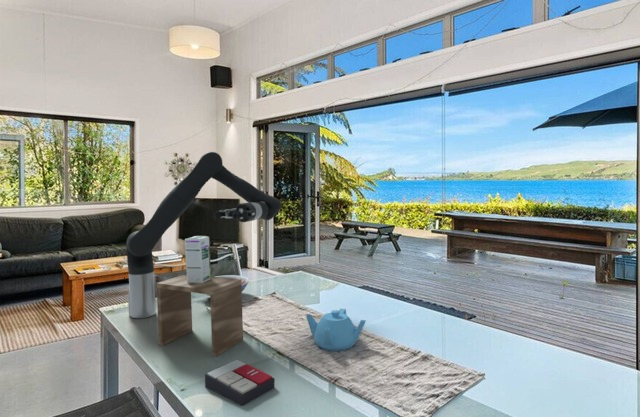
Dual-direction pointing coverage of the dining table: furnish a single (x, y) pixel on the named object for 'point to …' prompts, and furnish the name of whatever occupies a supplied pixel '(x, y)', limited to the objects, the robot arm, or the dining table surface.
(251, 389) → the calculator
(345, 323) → the teapot
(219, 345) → the cubby shelf
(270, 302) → the dining table surface
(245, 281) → the ramen bowl
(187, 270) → the syrup box
